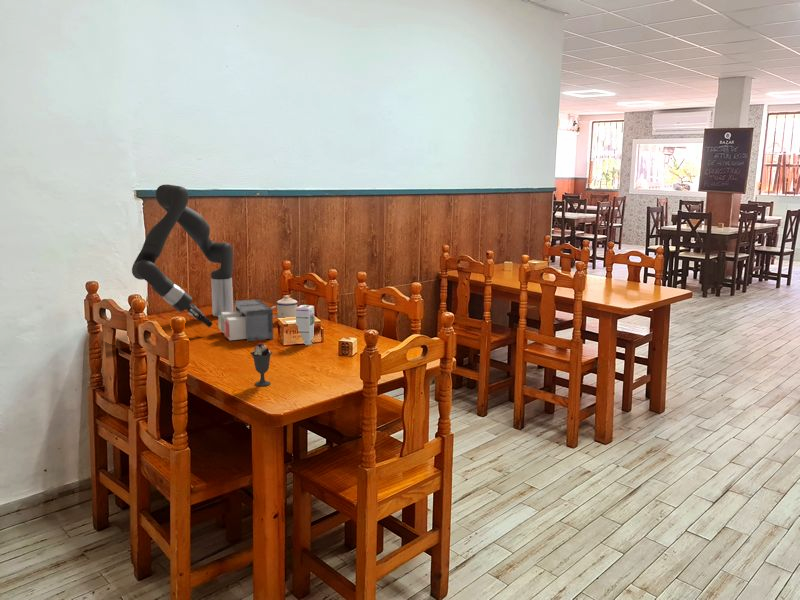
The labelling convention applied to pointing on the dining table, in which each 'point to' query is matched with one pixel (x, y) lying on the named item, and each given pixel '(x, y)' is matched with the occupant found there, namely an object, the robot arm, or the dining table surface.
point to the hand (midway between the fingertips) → (210, 325)
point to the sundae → (261, 362)
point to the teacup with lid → (285, 307)
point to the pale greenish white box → (226, 315)
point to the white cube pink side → (235, 328)
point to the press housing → (256, 318)
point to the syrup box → (305, 322)
